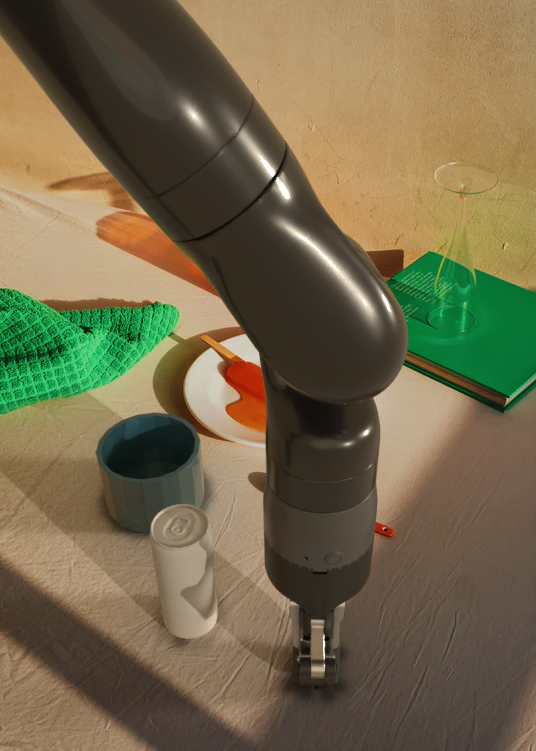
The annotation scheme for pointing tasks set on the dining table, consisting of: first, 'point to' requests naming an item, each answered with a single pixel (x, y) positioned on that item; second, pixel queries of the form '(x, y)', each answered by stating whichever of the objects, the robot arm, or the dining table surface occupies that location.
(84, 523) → the dining table surface
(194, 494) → the teal round container
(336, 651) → the dark gray rectangular block
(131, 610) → the dining table surface
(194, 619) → the beverage can
